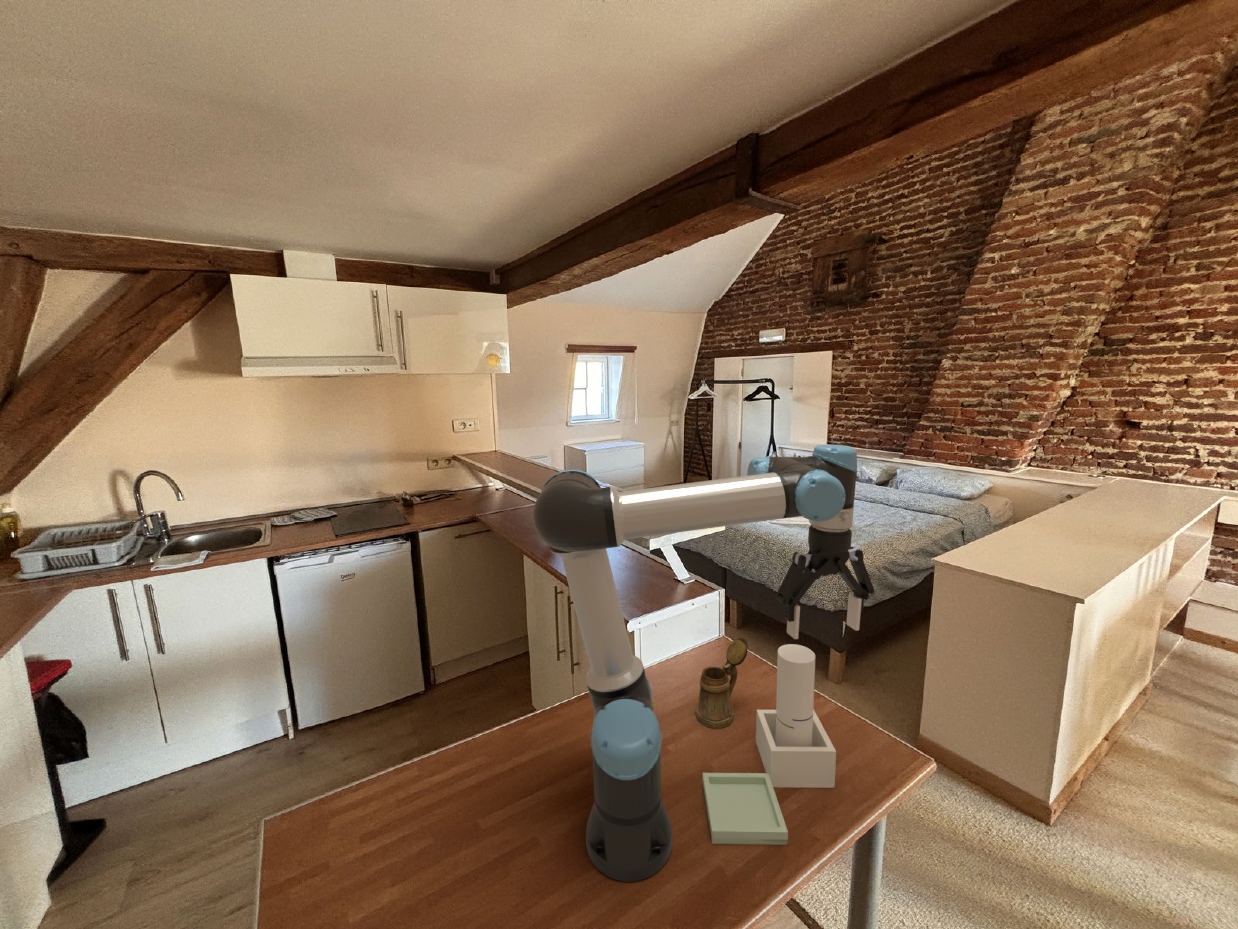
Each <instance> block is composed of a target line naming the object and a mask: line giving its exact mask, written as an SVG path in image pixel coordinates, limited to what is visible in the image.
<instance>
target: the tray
mask: <svg viewBox="0 0 1238 929" xmlns="http://www.w3.org/2000/svg"><path fill="white" fill-rule="evenodd" d="M702 788H703V795H704V801H705V807H706V813H707V814H706V815H707V820H708V826H709V827H708V828H709V833H710V839H711V844H714V845H715V844H717V845H778V846H779V845H782V846H783V845H788V844H789V843H788V842H789V831H788V828H787V825H786V822H785V819H784V816H783V813H782V810H781V807H780V804H779V801H778V798H777V794H776V791H775V789H774V788H775V787H773V785H772V782H771V779H770V776H769V773H766V772H765V773H763V772H761V773H759V772H758V773H757V772H754V773H753V772H702Z"/></svg>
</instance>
